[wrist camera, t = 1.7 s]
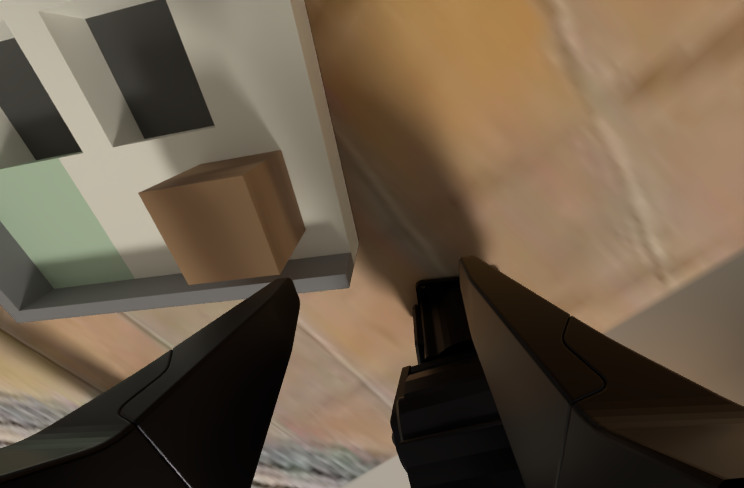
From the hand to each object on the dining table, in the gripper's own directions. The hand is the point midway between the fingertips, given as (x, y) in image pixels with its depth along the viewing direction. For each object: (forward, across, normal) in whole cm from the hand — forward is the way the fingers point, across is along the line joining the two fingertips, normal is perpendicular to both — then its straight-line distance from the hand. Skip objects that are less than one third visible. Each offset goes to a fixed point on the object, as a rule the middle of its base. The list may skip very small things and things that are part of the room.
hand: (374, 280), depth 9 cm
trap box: (+13, +15, -4) cm, 20 cm away
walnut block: (+10, +8, 0) cm, 13 cm away
